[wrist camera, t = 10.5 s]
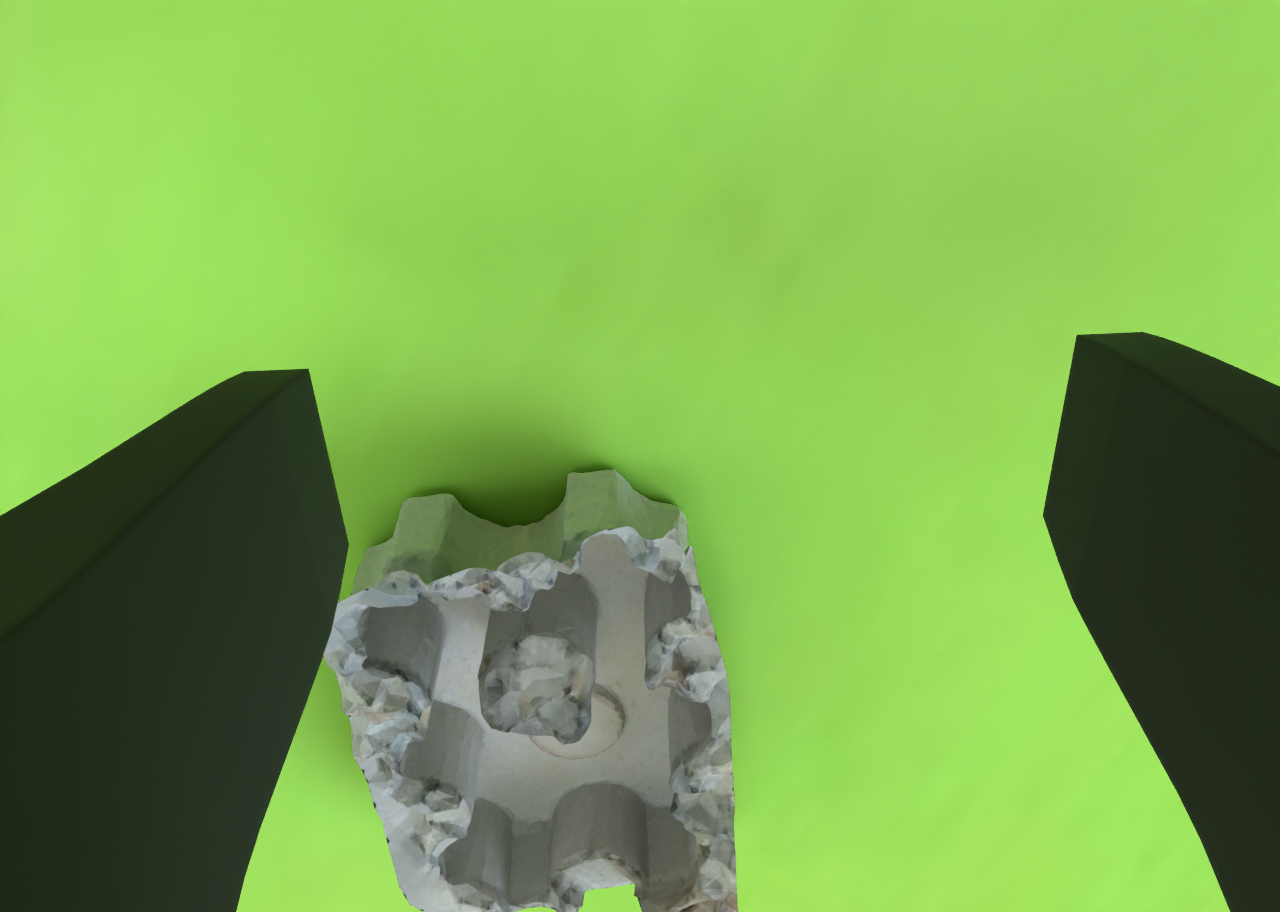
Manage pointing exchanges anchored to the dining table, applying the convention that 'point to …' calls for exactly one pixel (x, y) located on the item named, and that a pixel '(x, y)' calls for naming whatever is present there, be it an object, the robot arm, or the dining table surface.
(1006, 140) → the dining table surface
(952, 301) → the dining table surface
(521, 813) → the egg carton
